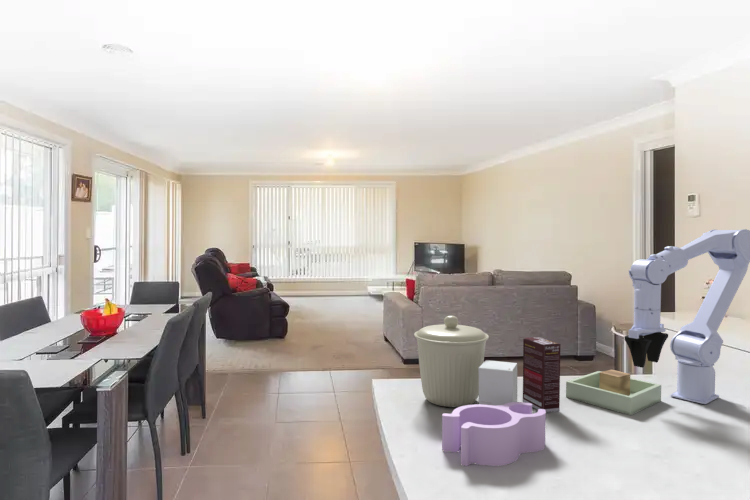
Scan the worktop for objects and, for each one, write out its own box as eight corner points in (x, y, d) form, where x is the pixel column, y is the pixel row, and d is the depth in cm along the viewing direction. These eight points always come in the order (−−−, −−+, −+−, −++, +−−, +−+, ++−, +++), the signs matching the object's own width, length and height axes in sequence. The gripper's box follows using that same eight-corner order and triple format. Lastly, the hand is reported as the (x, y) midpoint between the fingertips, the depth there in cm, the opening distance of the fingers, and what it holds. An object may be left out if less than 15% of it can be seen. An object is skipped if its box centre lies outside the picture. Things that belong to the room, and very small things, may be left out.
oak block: (610, 392, 128) (611, 369, 128) (629, 398, 124) (630, 374, 124) (599, 396, 126) (599, 372, 125) (618, 401, 121) (618, 377, 121)
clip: (517, 429, 106) (517, 397, 106) (560, 453, 95) (560, 417, 94) (434, 445, 98) (434, 410, 98) (470, 473, 87) (471, 433, 86)
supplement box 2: (560, 411, 116) (561, 343, 116) (542, 413, 115) (543, 344, 114) (538, 399, 125) (539, 336, 124) (521, 401, 123) (522, 337, 123)
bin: (598, 385, 136) (598, 370, 136) (661, 400, 124) (661, 384, 124) (566, 397, 127) (566, 381, 126) (630, 415, 114) (630, 397, 114)
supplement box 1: (518, 418, 112) (518, 362, 111) (512, 430, 105) (513, 370, 105) (485, 413, 115) (485, 359, 114) (477, 425, 108) (477, 366, 108)
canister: (474, 419, 111) (475, 324, 111) (401, 405, 120) (401, 318, 120) (497, 396, 127) (497, 313, 127) (430, 385, 136) (431, 308, 135)
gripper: (651, 313, 115) (649, 372, 115) (677, 307, 124) (676, 362, 124) (620, 309, 120) (619, 366, 121) (647, 304, 129) (646, 357, 130)
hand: (646, 364), depth 123 cm, fingers open, 7 cm apart
